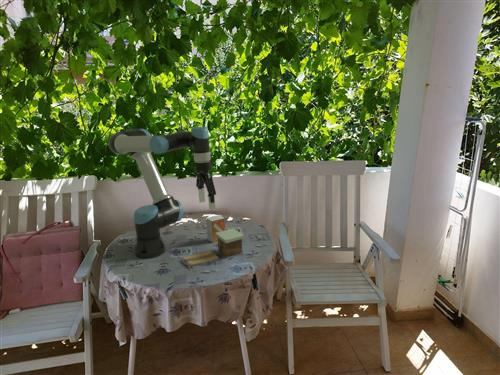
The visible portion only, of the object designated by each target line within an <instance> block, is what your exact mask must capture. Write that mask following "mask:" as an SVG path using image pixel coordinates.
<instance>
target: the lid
mask: <svg viewBox="0 0 500 375" xmlns="http://www.w3.org/2000/svg"><path fill="white" fill-rule="evenodd" d="M215 236H216V237H218V238H219V239H220V240H222V241H223V242H225V243H229V242H233V241H236V240H240V239H242V240H243V239H245V235H244V234H243V233H241V232H239V231H238V230H236V229H235V228H229V229H225V231H221V232H217V233H215Z"/></svg>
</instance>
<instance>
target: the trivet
mask: <svg viewBox="0 0 500 375" xmlns="http://www.w3.org/2000/svg"><path fill="white" fill-rule="evenodd" d="M182 260H183V261H184V263H186V264H187V265H188V266H189V267H190V268H191V269H194V267H196V266H200V265H202V264H206V263H209V262H212V261H215V260H219V256H217V254H215V253H214V252H212V251H211V250H210V249H207V250H204V251H201V252H197V253H194V254H190V255H186V256H183V257H182Z"/></svg>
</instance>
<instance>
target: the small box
mask: <svg viewBox="0 0 500 375" xmlns="http://www.w3.org/2000/svg"><path fill="white" fill-rule="evenodd" d="M205 220H206V233H207V241H210V242H211V243H212V244H213V243H218V237H216V236H215V233H217V232H221V231H225V230H226V219H225V217H224V216H223V215H220V214H218V215H217V214H216V215H213V216H210V217H206V219H205Z"/></svg>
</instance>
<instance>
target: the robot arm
mask: <svg viewBox="0 0 500 375" xmlns="http://www.w3.org/2000/svg"><path fill="white" fill-rule="evenodd" d="M107 143H108V148H109V150H110V151H111V152H112V153H114V154H116V155H126V154H127V155H128V154H129V156H130V158H131V159H134V160H135V162H136V164H137V166H138V169H139V171H140V173H141V176H142V178H143V180H144V182H145V185H146V187H147V189H148V191H149V194H150V196H151V199H152V203H151V204H148V205H143V206H140V207H139V208H137V209H136V210H134V213H133V218H134V219H133V222H134V227H135V236H136V241H135V247H134V255H135V256H136V257H137V256H138V257H137V258H140V259H153V258H156V257H159V256H161V255H163V254H164V253H165V252H166V244H165V242H164V241H163V239H162V238H163V237H162V235H161V229H164V228H166V227H169V226H170V225H174V224H175V223H178V222H179V221H181V220H182V218H183V217H184V216H183V215H184V207H183V204H182V203H181V201H179V199H175V198H174V196H173V195H171V194H170V193H169V192H168V189H167V187H166V185H165V182H164V181H163V179H162V176H161V173H160V171H159V168H158V167H157V165H156V163H155V160H154V158H153V156H152V153H153V154H155V155H158V154H165V153H167V152H169V153H170V152H172V151H177V150H181V149H182V150H183V149H193V161H194V170H195V171H196V182H195V183H196V185H195V187H196V188H197V189H198V190H197V191H198V198H199V201H198V202H199V203H200V204H201V203H205V202H206V195H205V188H206V191H207V198H208V206H209V210H210V211H211V210H216V200H215V198H216V197H215V195H217V192H216V187H215V184H214V181H213V180H214V179H213V174H212V172H211V173H210V172H209V171H211V170H212V169H213V168H212V167H213V166H212V161H211V155H212V152H211V149H210V135H209V129H208V127H206V126H195V127H192V128H191V130H190V131H186V130H185V131H184V130H179V131H175V132H174V133H170V134H163V135H151V133H150V132H149V131H148V130H147V129H145V128H134V129H128V130H123V131H122V130H121V131H118V132H115V133H113V134H111V136H110V137H109V139H108V142H107Z"/></svg>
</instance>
